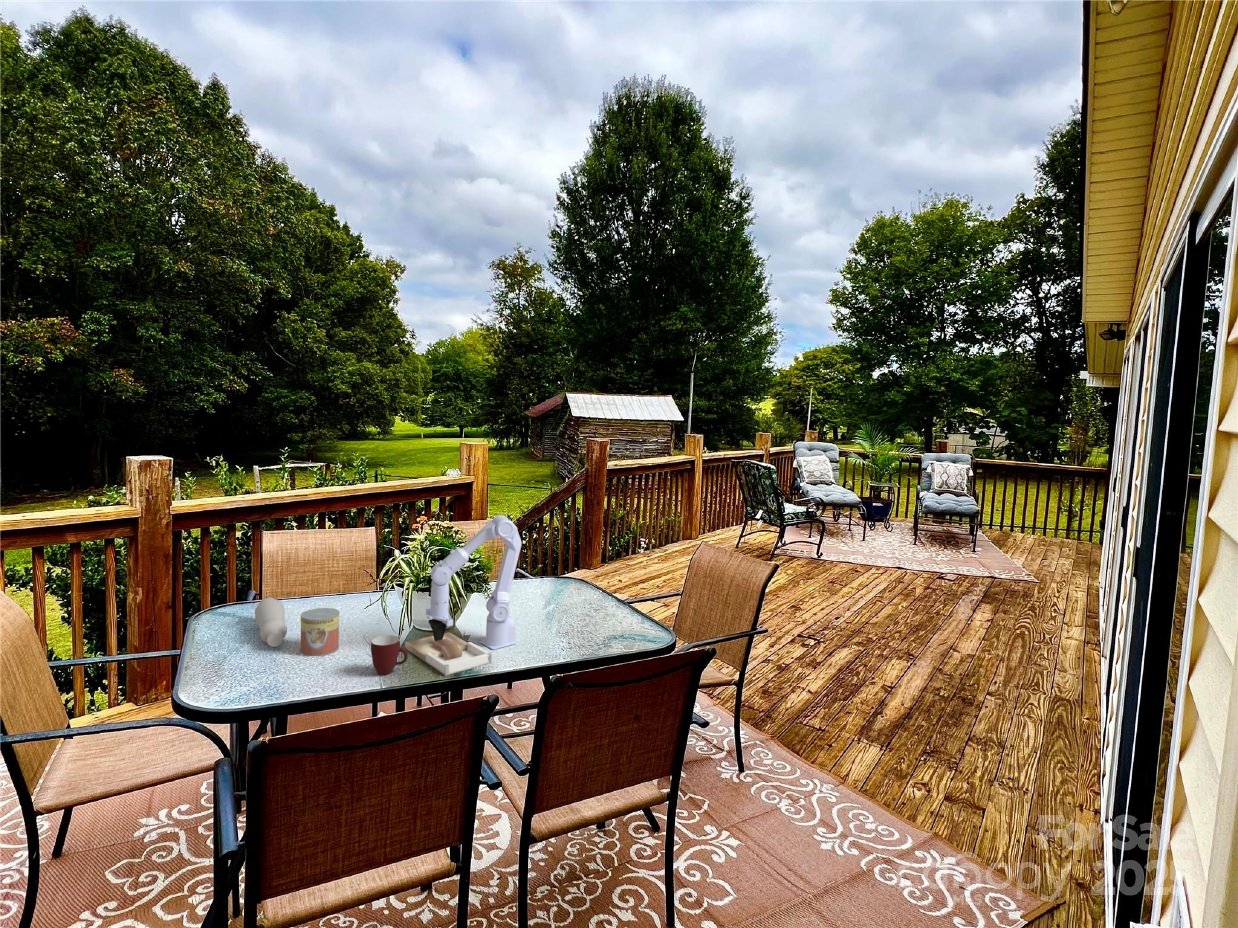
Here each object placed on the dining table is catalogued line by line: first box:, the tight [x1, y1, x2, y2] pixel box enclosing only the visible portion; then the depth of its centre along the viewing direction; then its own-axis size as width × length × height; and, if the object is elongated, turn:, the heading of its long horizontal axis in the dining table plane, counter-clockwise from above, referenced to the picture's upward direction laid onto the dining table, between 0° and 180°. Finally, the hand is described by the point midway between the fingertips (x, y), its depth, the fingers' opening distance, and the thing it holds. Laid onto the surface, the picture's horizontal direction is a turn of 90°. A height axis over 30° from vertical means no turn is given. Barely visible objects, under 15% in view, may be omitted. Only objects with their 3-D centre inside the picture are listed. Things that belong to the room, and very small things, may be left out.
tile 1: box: [433, 639, 453, 651], centre depth 206 cm, size 5×5×2 cm
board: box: [404, 631, 468, 663], centre depth 209 cm, size 16×14×2 cm
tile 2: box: [440, 643, 462, 660], centre depth 202 cm, size 5×5×2 cm
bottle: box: [254, 597, 288, 648], centre depth 213 cm, size 9×9×30 cm
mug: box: [370, 634, 409, 676], centre depth 189 cm, size 10×8×10 cm
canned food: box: [299, 607, 340, 657], centre depth 202 cm, size 11×11×12 cm
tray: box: [425, 641, 492, 677], centre depth 199 cm, size 16×13×3 cm
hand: (438, 641), depth 208 cm, fingers closed
